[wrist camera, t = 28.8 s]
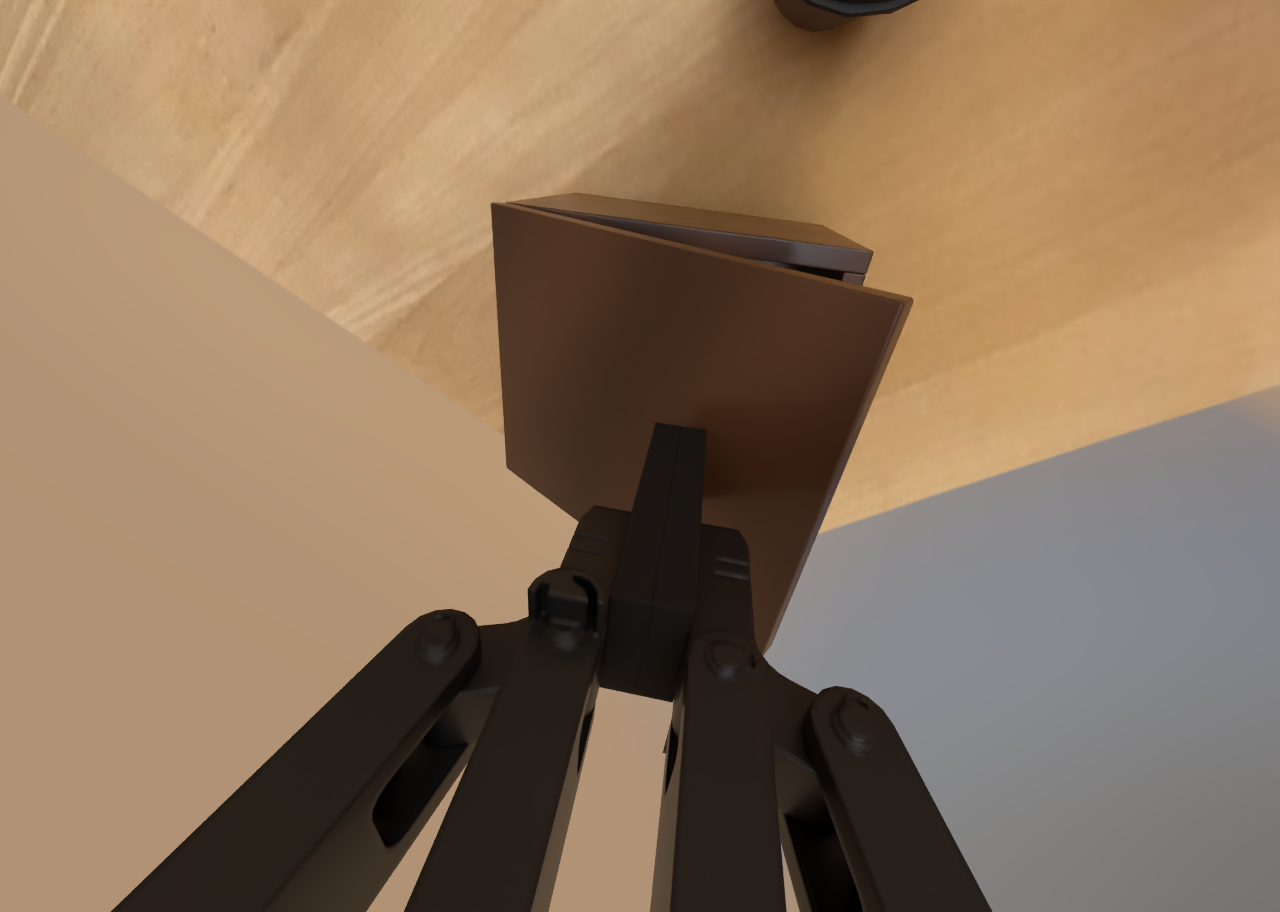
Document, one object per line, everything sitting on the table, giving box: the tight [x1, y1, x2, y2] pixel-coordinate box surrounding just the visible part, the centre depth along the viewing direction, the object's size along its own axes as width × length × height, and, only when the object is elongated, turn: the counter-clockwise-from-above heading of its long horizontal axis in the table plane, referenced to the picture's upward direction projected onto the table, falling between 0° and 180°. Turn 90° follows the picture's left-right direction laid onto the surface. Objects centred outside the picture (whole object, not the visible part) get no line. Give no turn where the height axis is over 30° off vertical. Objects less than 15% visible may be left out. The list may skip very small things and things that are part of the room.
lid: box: [491, 203, 913, 656], centre depth 16 cm, size 14×12×1 cm
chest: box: [506, 193, 873, 286], centre depth 24 cm, size 14×12×10 cm
